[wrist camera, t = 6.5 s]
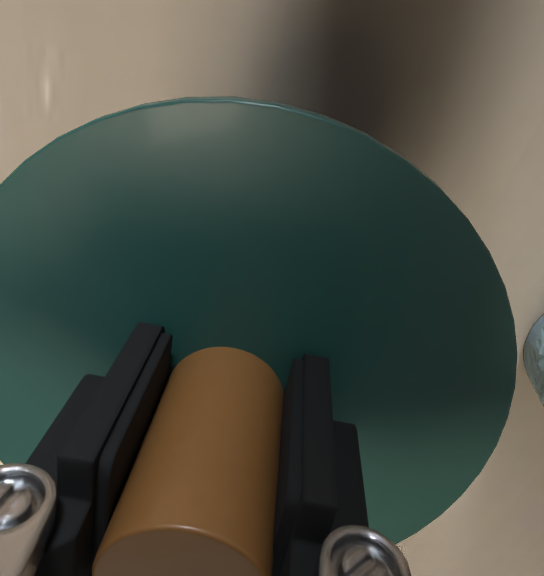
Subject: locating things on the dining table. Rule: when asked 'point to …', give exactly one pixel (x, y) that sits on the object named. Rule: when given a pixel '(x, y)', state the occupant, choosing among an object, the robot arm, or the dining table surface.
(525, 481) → the dining table surface
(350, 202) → the pot lid
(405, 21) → the dining table surface
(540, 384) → the light blue cup
